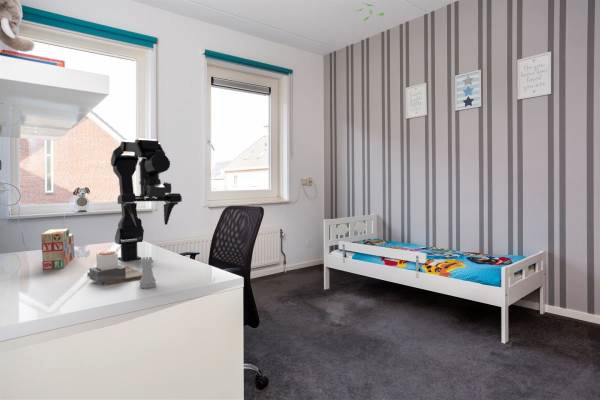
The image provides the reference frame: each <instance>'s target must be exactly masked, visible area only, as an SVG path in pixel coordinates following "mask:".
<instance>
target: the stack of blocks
mask: <svg viewBox="0 0 600 400" xmlns="http://www.w3.org/2000/svg"><path fill="white" fill-rule="evenodd" d="M40 237H41V255H42V256H41V258H42V261H41V262H42V263H41V264H42V271H44V270H46V271H47V270H56V269H64V268H65V267H67V266H68V265H69V264H70V262H71V261H72V260H73V259H74V258H75V256H76V255H75V241H74V233H70V228H54V229H53V228H51V229H48V230H46V231H45V232H42V233H41V236H40Z"/></svg>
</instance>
